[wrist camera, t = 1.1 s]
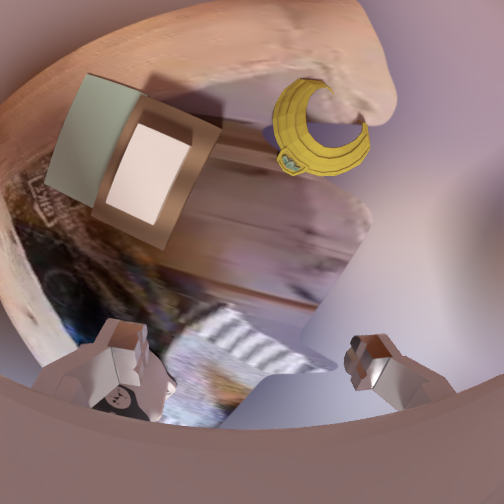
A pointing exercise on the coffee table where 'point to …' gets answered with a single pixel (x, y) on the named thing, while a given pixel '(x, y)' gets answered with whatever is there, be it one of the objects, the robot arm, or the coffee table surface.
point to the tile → (147, 173)
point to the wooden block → (202, 144)
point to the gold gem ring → (302, 143)
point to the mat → (90, 138)
